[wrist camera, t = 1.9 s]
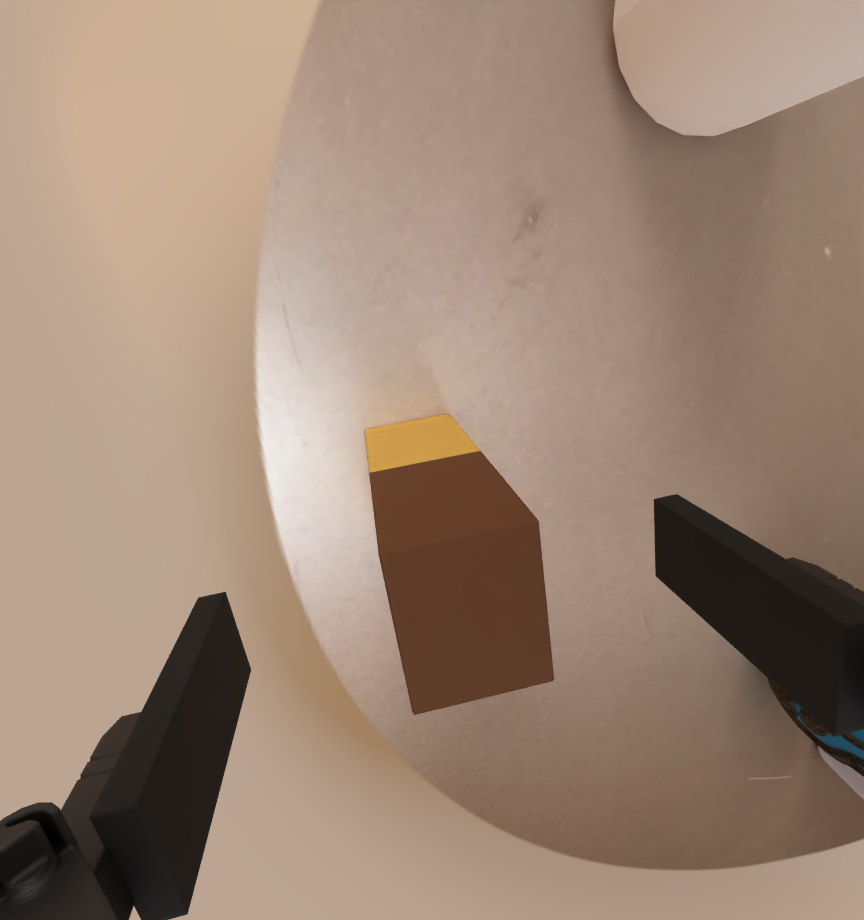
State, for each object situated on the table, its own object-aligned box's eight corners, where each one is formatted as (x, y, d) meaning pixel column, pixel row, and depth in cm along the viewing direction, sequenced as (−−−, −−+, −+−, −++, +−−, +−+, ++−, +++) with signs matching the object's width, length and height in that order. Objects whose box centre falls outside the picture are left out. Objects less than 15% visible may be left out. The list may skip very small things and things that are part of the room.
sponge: (384, 527, 25) (413, 716, 14) (364, 429, 24) (378, 554, 12) (464, 510, 26) (554, 681, 14) (449, 412, 24) (539, 519, 13)
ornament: (728, 618, 30) (898, 764, 21) (799, 581, 30) (1001, 711, 21) (762, 712, 33) (924, 878, 24) (826, 678, 33) (1015, 831, 24)
